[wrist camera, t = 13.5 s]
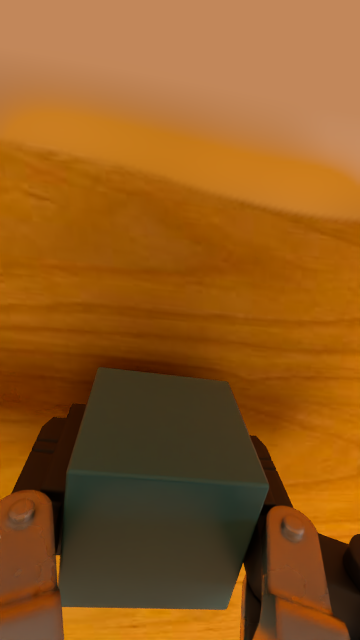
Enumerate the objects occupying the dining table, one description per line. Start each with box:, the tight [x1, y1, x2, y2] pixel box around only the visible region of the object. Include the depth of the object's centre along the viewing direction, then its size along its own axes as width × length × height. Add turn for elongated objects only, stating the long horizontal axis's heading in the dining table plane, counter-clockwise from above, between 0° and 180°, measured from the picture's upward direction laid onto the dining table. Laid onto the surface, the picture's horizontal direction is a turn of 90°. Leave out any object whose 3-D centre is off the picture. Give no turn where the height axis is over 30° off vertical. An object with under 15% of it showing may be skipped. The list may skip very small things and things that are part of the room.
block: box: [58, 367, 269, 610], centre depth 10 cm, size 4×4×4 cm
